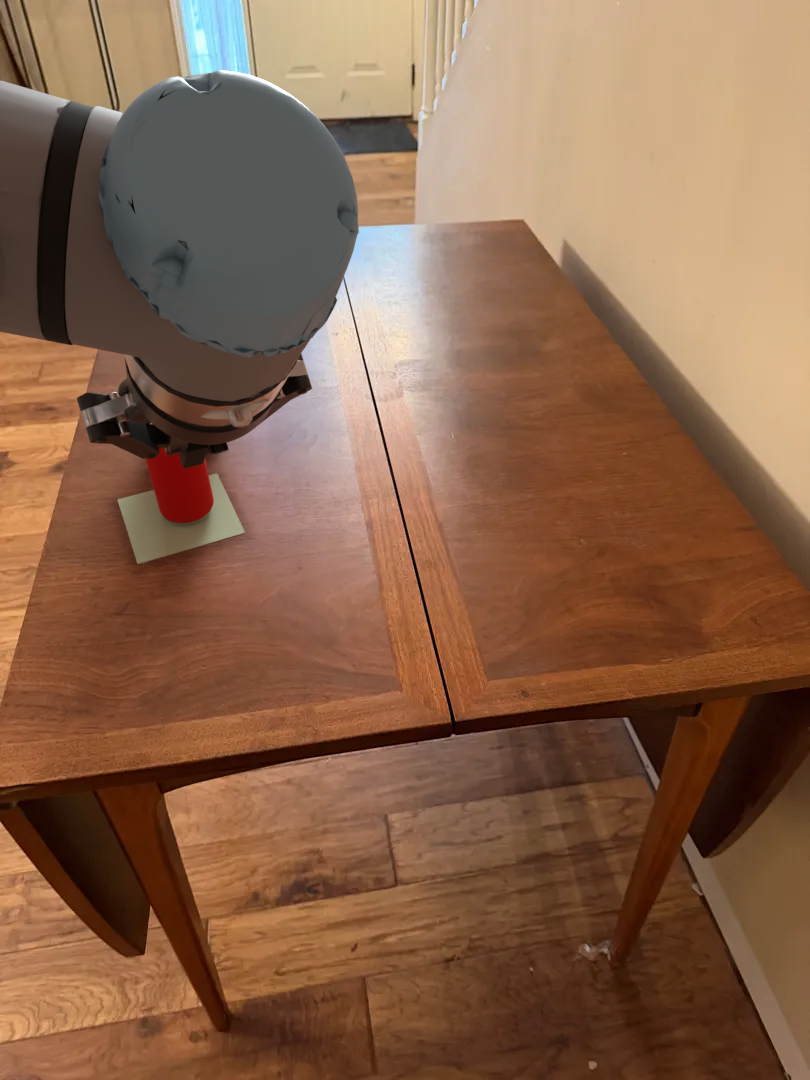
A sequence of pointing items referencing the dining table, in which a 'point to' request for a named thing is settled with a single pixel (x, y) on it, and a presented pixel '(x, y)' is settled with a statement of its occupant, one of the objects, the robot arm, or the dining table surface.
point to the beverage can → (180, 488)
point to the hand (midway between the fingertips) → (187, 449)
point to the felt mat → (176, 525)
